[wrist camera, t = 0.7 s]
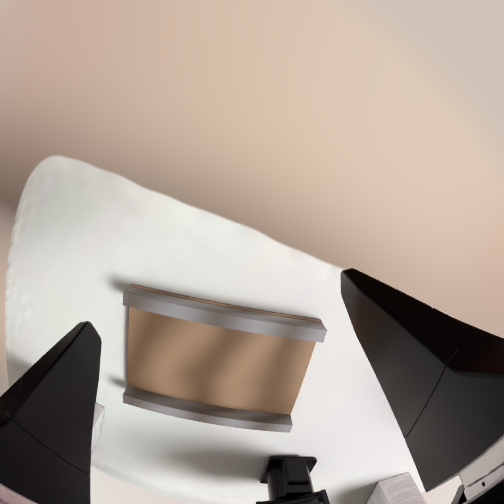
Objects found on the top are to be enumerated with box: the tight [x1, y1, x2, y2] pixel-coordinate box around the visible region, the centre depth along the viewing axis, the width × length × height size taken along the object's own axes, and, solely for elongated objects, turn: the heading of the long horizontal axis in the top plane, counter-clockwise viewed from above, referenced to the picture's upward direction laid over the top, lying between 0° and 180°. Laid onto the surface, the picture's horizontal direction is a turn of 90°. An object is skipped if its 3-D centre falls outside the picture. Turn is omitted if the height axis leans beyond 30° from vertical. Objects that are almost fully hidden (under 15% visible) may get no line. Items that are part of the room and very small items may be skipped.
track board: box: [123, 284, 327, 432], centre depth 26 cm, size 18×13×2 cm
